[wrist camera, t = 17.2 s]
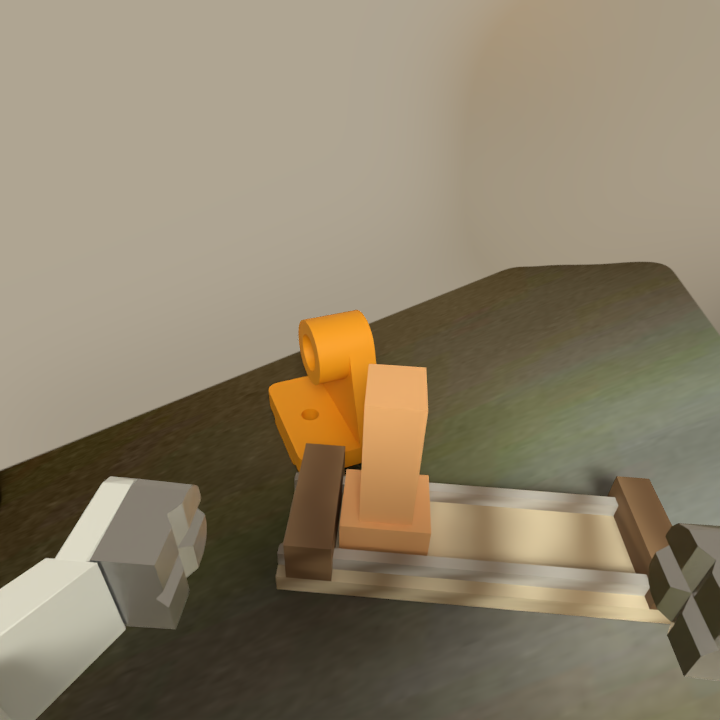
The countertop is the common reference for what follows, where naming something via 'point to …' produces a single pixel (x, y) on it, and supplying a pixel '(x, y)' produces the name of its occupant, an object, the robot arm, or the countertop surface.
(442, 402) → the countertop surface
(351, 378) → the bracket
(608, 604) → the rail board
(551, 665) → the countertop surface
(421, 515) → the slider
